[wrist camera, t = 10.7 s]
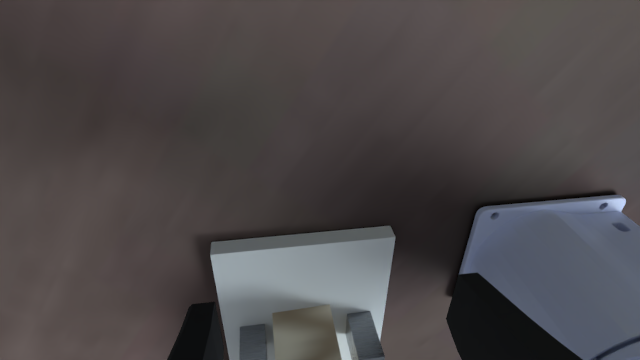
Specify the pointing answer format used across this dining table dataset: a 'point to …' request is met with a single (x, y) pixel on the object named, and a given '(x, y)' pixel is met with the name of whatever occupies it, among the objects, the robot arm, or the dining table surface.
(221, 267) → the cradle
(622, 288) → the robot arm
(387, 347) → the dining table surface
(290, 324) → the long beige block
